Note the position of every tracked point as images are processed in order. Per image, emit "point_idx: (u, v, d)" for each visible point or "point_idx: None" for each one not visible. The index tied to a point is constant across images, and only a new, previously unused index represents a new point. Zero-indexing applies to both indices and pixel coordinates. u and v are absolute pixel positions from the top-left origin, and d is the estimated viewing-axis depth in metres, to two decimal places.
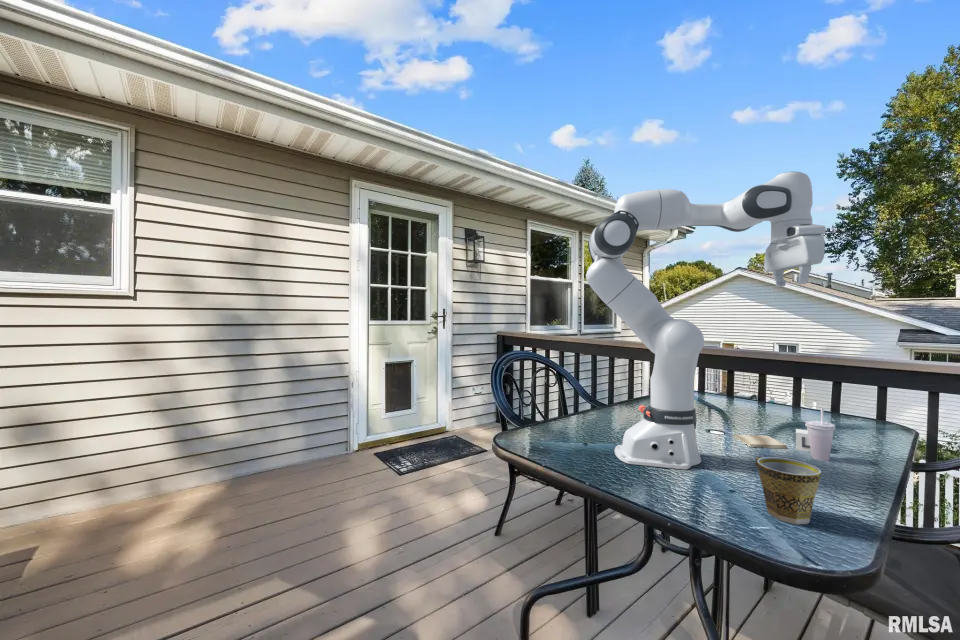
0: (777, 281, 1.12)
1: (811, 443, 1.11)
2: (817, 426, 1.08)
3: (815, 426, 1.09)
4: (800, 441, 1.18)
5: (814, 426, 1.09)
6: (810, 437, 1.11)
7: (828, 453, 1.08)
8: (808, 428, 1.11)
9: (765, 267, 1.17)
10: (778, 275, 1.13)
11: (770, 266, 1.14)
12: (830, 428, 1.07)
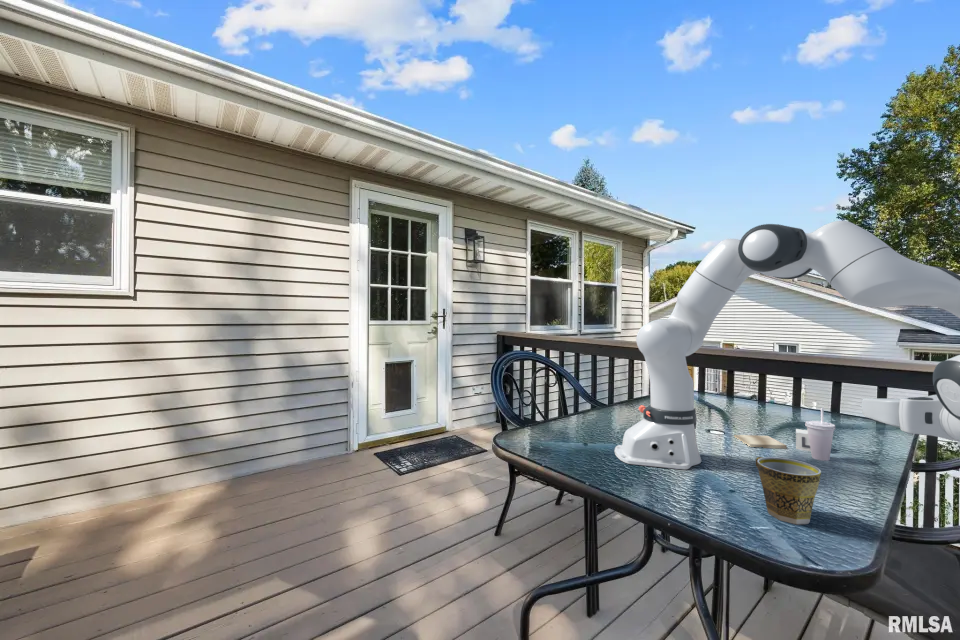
0: None
1: (811, 443, 1.11)
2: (817, 426, 1.08)
3: (815, 426, 1.09)
4: (800, 441, 1.18)
5: (814, 426, 1.09)
6: (810, 437, 1.11)
7: (828, 453, 1.08)
8: (808, 428, 1.11)
9: None
10: None
11: None
12: (830, 428, 1.07)
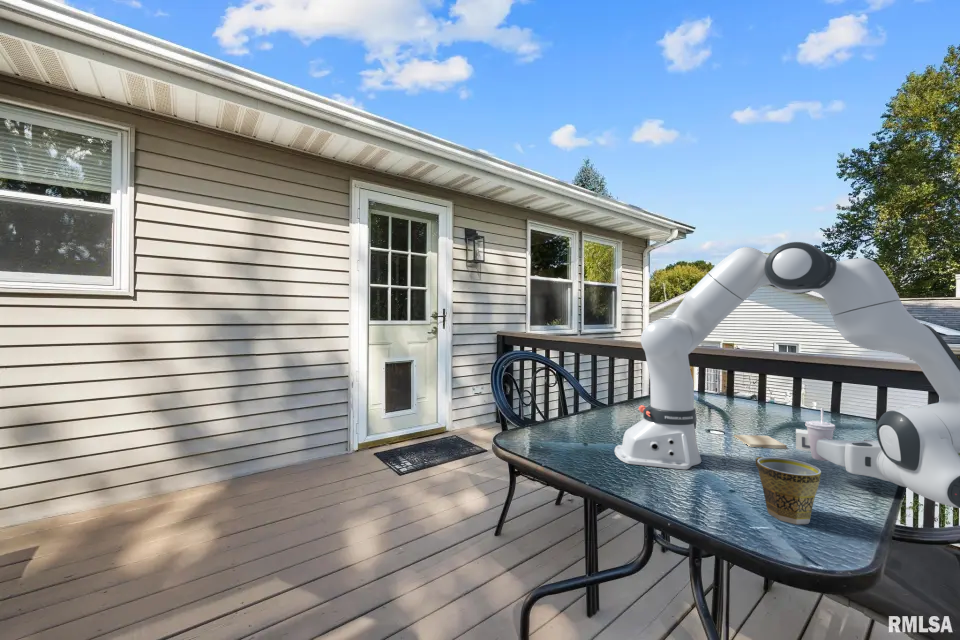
0: (870, 440, 0.99)
1: (811, 443, 1.11)
2: (817, 426, 1.08)
3: (815, 426, 1.09)
4: (800, 441, 1.18)
5: (814, 426, 1.09)
6: (810, 437, 1.11)
7: None
8: (808, 428, 1.11)
9: None
10: None
11: None
12: (830, 428, 1.07)
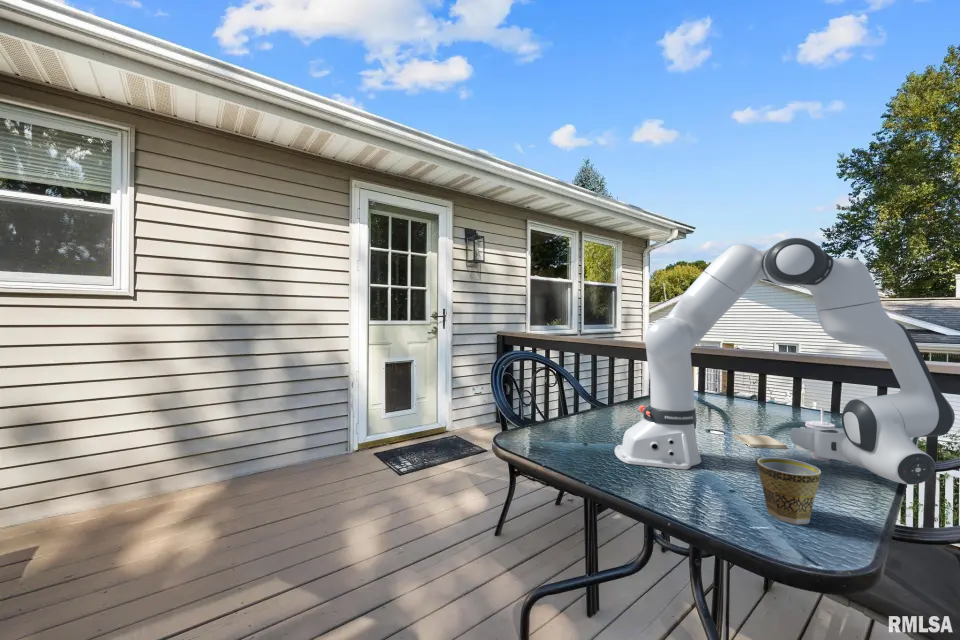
0: (836, 428, 1.09)
1: None
2: (817, 426, 1.08)
3: (815, 426, 1.09)
4: None
5: (814, 426, 1.09)
6: None
7: None
8: None
9: None
10: None
11: None
12: (830, 428, 1.07)
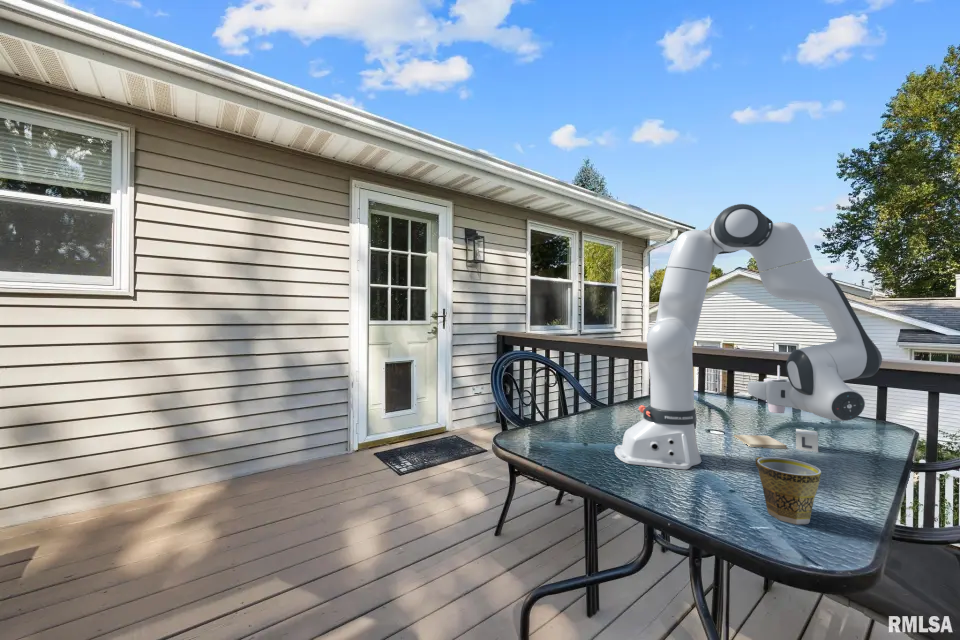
0: None
1: None
2: None
3: None
4: (800, 441, 1.18)
5: None
6: None
7: (783, 406, 1.18)
8: None
9: None
10: None
11: None
12: None
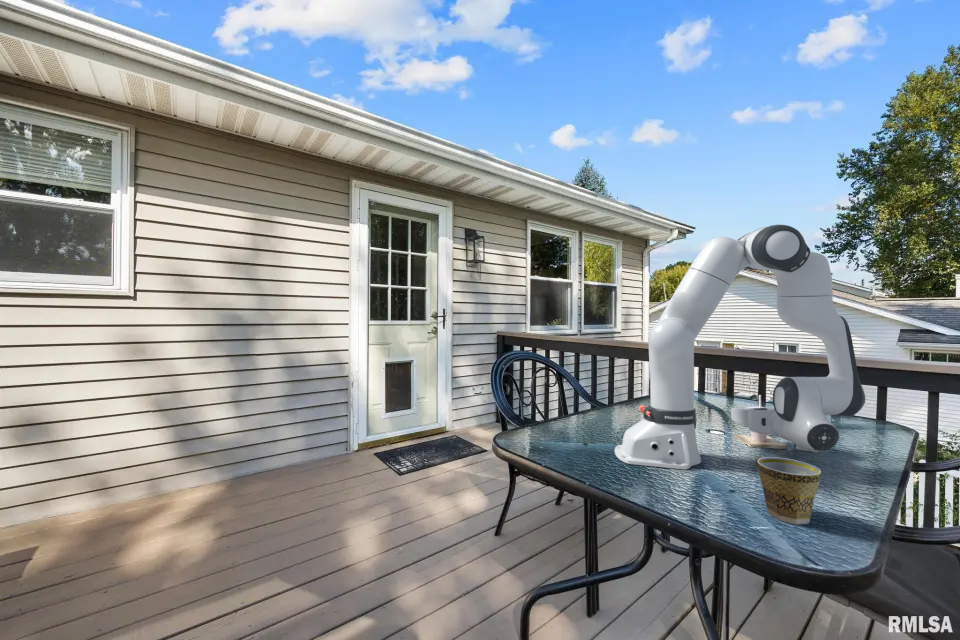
0: None
1: None
2: None
3: None
4: None
5: None
6: None
7: (764, 435, 1.22)
8: None
9: None
10: None
11: None
12: None
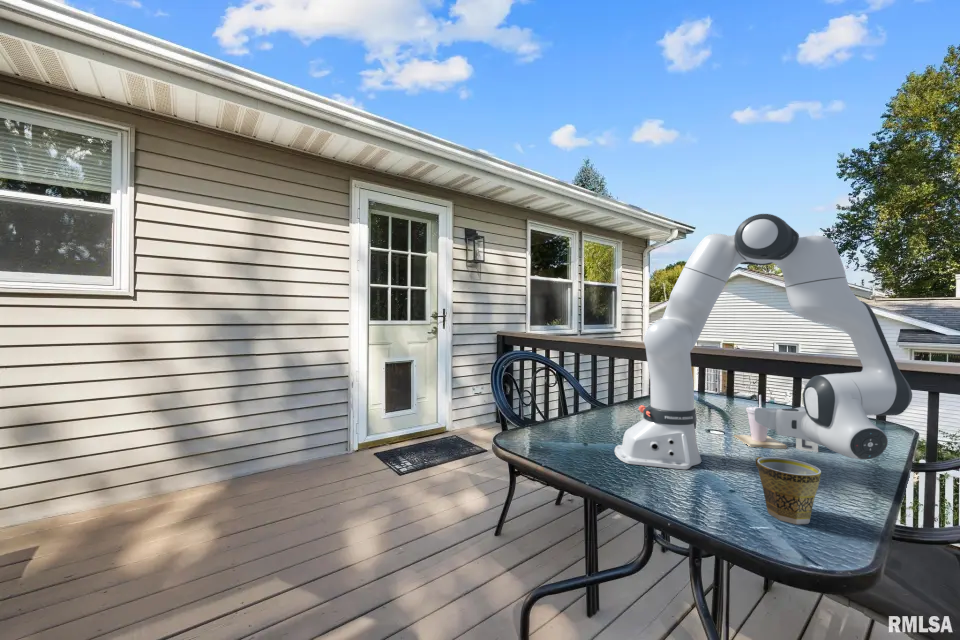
0: None
1: (750, 426, 1.25)
2: None
3: (753, 411, 1.23)
4: (800, 441, 1.18)
5: (752, 411, 1.23)
6: (750, 421, 1.25)
7: (764, 435, 1.23)
8: (748, 413, 1.25)
9: None
10: None
11: None
12: None
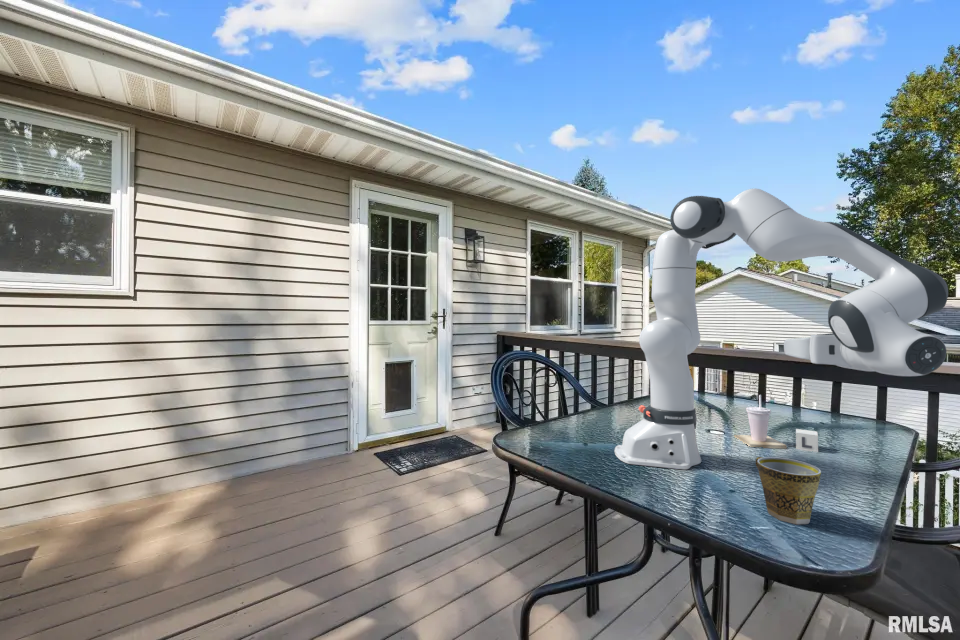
0: None
1: (750, 426, 1.25)
2: (755, 411, 1.23)
3: (753, 411, 1.23)
4: (800, 441, 1.18)
5: (752, 411, 1.23)
6: (749, 421, 1.25)
7: (764, 435, 1.23)
8: (748, 413, 1.25)
9: None
10: None
11: None
12: (765, 412, 1.22)
